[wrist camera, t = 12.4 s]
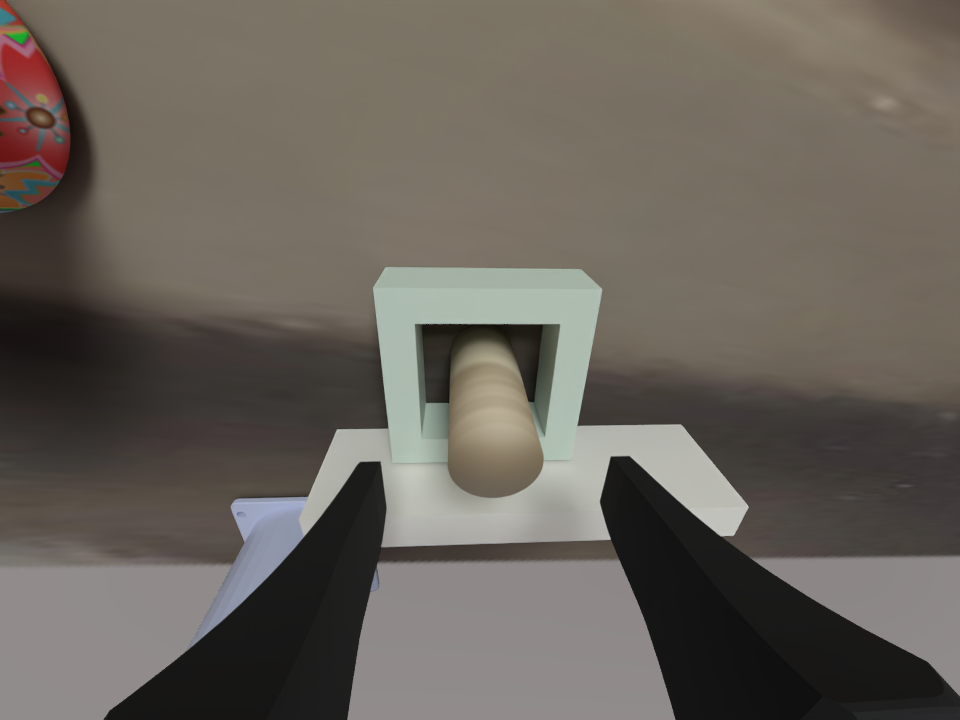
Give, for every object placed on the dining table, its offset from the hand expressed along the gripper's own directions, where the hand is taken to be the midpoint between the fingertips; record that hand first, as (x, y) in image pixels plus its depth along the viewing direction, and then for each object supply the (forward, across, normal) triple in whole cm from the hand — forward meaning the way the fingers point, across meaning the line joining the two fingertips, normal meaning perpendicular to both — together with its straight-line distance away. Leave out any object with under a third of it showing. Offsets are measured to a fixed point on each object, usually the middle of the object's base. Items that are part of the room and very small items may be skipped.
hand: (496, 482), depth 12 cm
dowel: (+9, 0, 0) cm, 9 cm away
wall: (+9, -2, +6) cm, 11 cm away
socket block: (+9, 0, 0) cm, 9 cm away
